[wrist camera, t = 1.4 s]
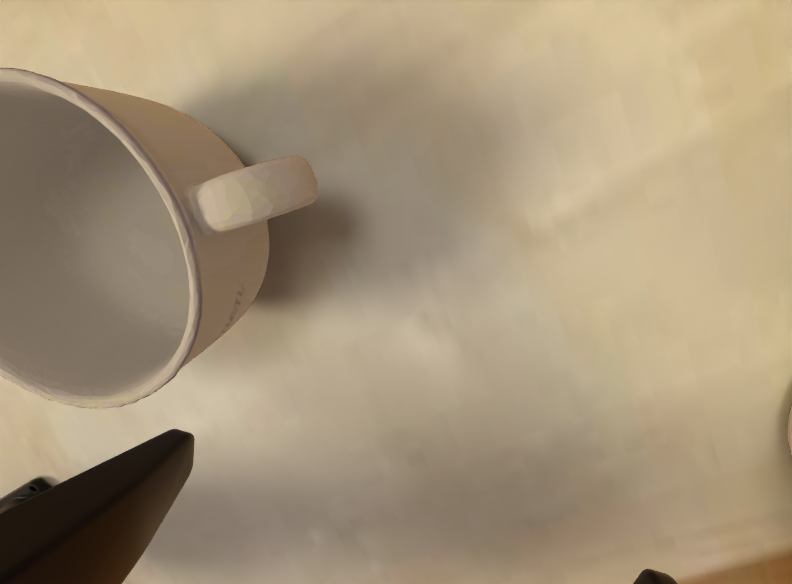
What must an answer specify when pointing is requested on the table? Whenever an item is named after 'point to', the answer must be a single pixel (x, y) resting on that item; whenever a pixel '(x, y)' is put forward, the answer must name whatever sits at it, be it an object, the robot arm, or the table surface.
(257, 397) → the table surface
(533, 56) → the table surface
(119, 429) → the table surface
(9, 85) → the teacup
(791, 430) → the cylinder vase
